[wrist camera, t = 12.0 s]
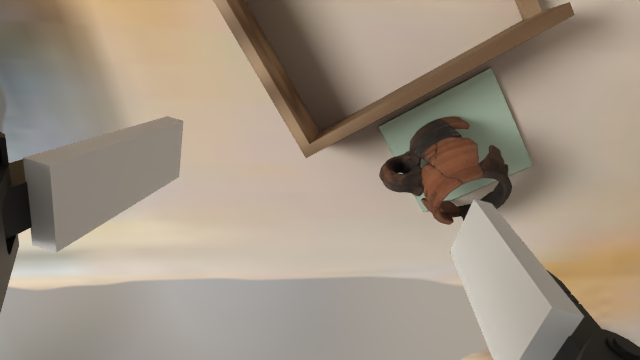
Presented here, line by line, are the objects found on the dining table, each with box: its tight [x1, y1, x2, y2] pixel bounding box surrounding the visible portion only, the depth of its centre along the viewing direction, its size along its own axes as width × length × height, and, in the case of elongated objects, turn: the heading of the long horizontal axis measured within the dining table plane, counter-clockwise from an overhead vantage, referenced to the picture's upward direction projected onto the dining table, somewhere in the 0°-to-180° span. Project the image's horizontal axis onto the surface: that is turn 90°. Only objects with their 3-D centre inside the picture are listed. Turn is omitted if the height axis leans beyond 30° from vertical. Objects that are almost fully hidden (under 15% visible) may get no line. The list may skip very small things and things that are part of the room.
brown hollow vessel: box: [379, 116, 512, 224], centre depth 33 cm, size 12×9×8 cm
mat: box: [379, 68, 533, 212], centre depth 35 cm, size 11×12×1 cm
